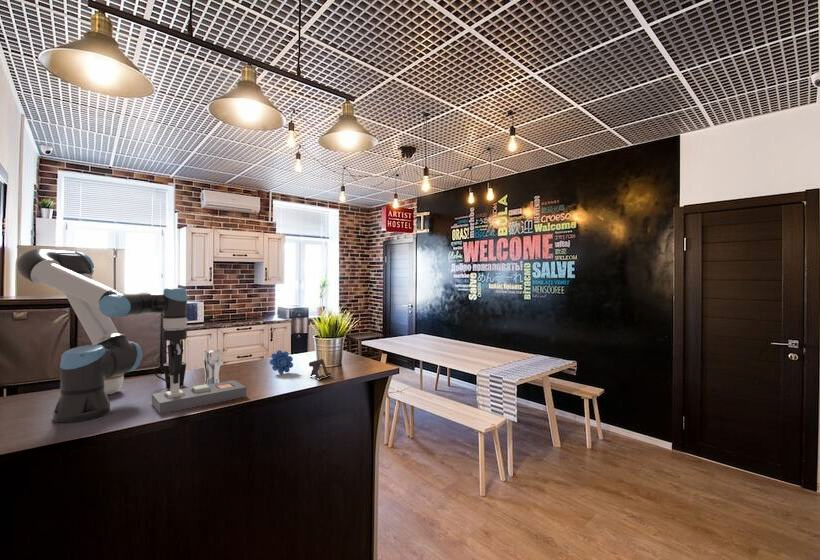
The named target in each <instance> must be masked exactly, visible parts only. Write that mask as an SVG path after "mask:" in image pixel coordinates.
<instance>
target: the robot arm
mask: <svg viewBox="0 0 820 560" xmlns="http://www.w3.org/2000/svg"><path fill="white" fill-rule="evenodd" d="M16 263H17V264H16V268H17V271H18V273H19V274H20V276H22V277H23V278H25V280H28V281H30V282H32V283H34V284H36V285H41V286H46V285H47V286H49V287H52V288H54V289H56V290H58V291H61V292H62V293H64V295H65V297H66V298H67V300H68V302H69V304H70V305H71V307H72V309H73V312H74V313H75V315H76V316H77V319H78V320H79V322H80V323H81V325H82V327H83V329H84V332H85V333H86V335H87V336H88V339H89V340H90V342H91V344H86V345H84V346H83V345H81V346H76V347H73V348H70V349H67V350H66V351H64V352H63V353H62V354H61V356H60V357H61V358H60V364H59V367H60V369H59V370H60V371H59V372H60V375H59V376H60V388H59V389H60V391H59V393H60V396H59V398H58V401H57V403H56V405H55V408H54V410H53V413H52V420H53V422H56V423H62V424H63V423H64V424H65V423H66V424H67V423H76V422H83V421H88V420H92V419H96V418H99V417H102V416H104V415H107V414H108V413H110V412H111V403H110V400H109V397H108V395H106V393H105V390H104V379H106V378H110V377H113V376H117V375H120V374H124V375H125V374H128V373H129V372H131V371H134V370H135V369H137V368H138V367H139V366H140V364H141V361H142V359H143V349H142V348H141V346H140V344H138V343H137V342H135V341H131V340H130V341H129V340H128V337H127V336H126V335H125V334H123V333H119V332H118V329H117V328H116V326H115V323H114V322H113V320H112V319H111V318H121V317H126V316H127V317H129V316H135V315H142V314H162V315H163V319H162V323H163V325H162V326H163V327H162V328H163V329H164V330H163V332H162V333H163V334H162V335H163V337H162V338H163V340H164V341H167V342H169V344H167V346H166V348H167V355H168V357H167V358H168V363H169V371H170V388H169V391H170V392H171V393H172V392H178V391H179V389H181V387H180V373H181V368H182V362H183V353H184V349H183V344H181V343H182V342H181V341H182V340H186V339H187V337H188V336H187V335H188V334H187V333H188V331H187V329H186V328H187V325H188V322H189V319H188V318H187V317H188V316H187V313H188V311H187V309H188V308H187V307H188V295H187V294H188V293H187V292H188V291H187V290H186V288H184V287H165V288H164V289H163V292H162V293H159V292H137V293H123V292H121V291H119V290H116V289H115V288H112V287H110V286H107V285H105V284H103V283H100V282H98V281H96V280H94V279H93V278H94V277H93V274H94V271H95V270H94V268H95V265H94V263H93V260H92V259H91V257H90V256H88V255H87V254H85V253H83V252H81V251H75V250H72V249H71V250H69V249H68V250H58V249H51V248H50V249H46V248H33V249H30V250H28V251H25V252H24V253H23V254H21V256H19V258H18V259H17V262H16Z"/></svg>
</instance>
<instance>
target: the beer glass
mask: <svg viewBox="0 0 820 560" xmlns="http://www.w3.org/2000/svg"><path fill="white" fill-rule="evenodd" d="M221 358H222V355H221V350H220V349H207V350H204V351H203V369H204V375H205V379H204V384H203V385H205V384H206V385H208V384H214V383H220V377H219V374H220V368H221V361H222V359H221Z"/></svg>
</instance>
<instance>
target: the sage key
mask: <svg viewBox="0 0 820 560" xmlns="http://www.w3.org/2000/svg"><path fill="white" fill-rule="evenodd" d="M191 387H192V392H193V393H194V394H195V393H201V392H206V391H210V387H209V386H208V385H206V384H205V385H204V384H200V385H194V386H191Z"/></svg>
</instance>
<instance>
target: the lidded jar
mask: <svg viewBox="0 0 820 560" xmlns="http://www.w3.org/2000/svg"><path fill="white" fill-rule="evenodd" d="M124 376H125V374H120V375H117V376H113V377H110V378H106V379H104V390H105V393H106V395H107V396H108V394H110V395H113V393H114V394H116V393H117V392H118V391H119V390H120V389H121V387H122V386H123V384H124V380H125V379H124V378H125V377H124ZM115 392H116V393H115Z"/></svg>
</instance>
